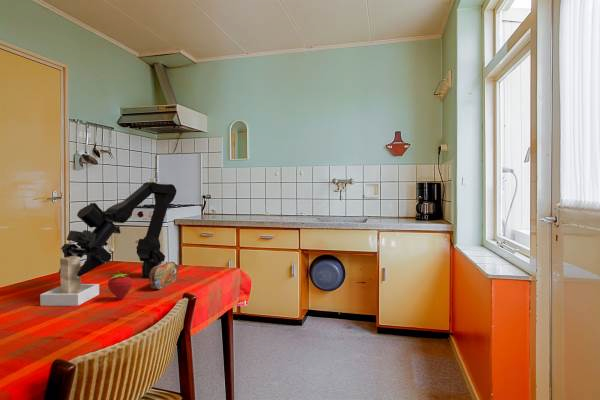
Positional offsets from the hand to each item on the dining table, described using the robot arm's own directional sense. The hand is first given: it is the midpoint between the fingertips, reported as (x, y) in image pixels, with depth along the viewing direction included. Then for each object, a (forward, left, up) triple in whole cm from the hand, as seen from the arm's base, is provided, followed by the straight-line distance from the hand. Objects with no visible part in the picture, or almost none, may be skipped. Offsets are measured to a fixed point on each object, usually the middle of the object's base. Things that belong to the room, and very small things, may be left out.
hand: (68, 274), depth 114 cm
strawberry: (-16, -1, -9) cm, 18 cm away
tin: (-24, -17, -9) cm, 31 cm away
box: (0, -1, -8) cm, 9 cm away
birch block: (0, -1, -8) cm, 8 cm away
